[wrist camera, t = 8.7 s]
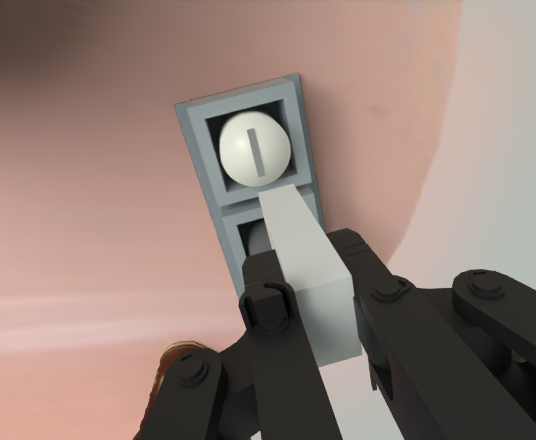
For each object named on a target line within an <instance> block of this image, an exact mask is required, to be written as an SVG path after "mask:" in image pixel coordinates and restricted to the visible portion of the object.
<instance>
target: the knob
mask: <svg viewBox="0 0 536 440" xmlns="http://www.w3.org/2000/svg"><path fill="white" fill-rule="evenodd" d="M219 142H220V157H221V162H222V165H223V167H224V169H225V171H226V172H227V174H228V175H229V176H230V177H231V178H232V179H234V180H235V181H237V182H238V183H240V184H243V185H246V186H252V187H258V186H264V185H267V184H269V183H271V182H273V181H275V180H276V179H277V178H279V177H280V176H281V175H282V174H283V172H284V171H285V169H286V168H287V166H288V163H289V160H290V155H291V147H290V142H289V139H288V136H287V134H286V133H285V131H284V130H283V129H282V127H281V126H280V125H279V124H278V123H277V122H276V121H275V120H274V119H273V118H272V117H271V116H270V115H269V114H268V113H267V112H265V111H264V110H262V109H260V108H258V107H254V106H253V107H249V108H245V109H242V110H238V111H234V112H230V113H229V114H228V115H227V116H226V117H225V119H224V120H223V122H222V124H221V127H220V131H219Z"/></svg>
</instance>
